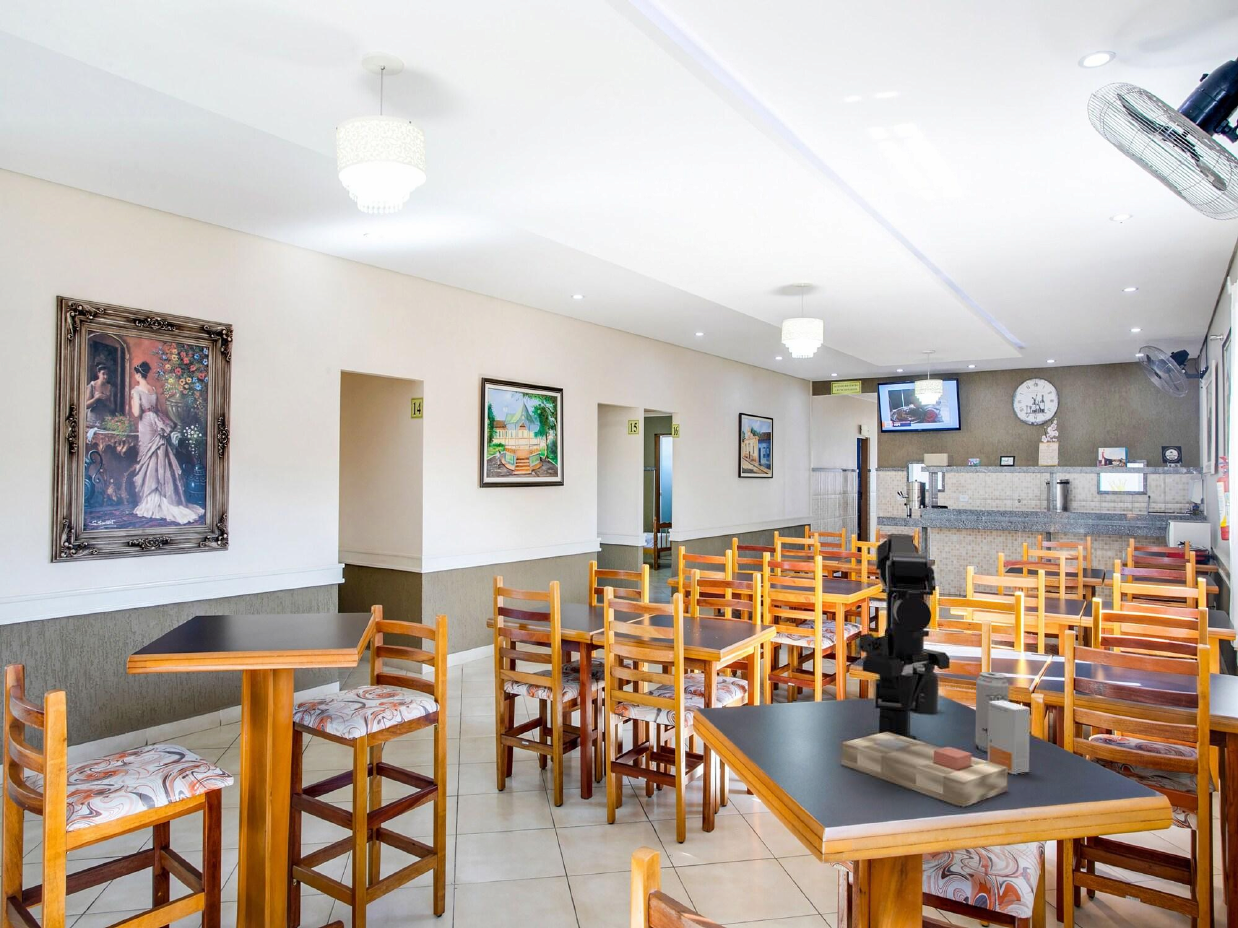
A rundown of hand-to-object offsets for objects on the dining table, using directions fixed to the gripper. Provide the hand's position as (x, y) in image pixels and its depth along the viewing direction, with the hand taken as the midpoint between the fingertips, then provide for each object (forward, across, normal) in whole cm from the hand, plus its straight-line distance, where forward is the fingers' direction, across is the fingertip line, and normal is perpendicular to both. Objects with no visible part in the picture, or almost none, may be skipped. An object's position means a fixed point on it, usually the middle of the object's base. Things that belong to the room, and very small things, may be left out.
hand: (905, 709), depth 144 cm
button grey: (+10, 0, -3) cm, 11 cm away
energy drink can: (+11, -28, 0) cm, 31 cm away
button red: (+9, -1, +9) cm, 13 cm away
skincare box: (+11, -20, +9) cm, 24 cm away
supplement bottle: (+11, -43, -25) cm, 51 cm away
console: (+11, 0, +3) cm, 12 cm away
